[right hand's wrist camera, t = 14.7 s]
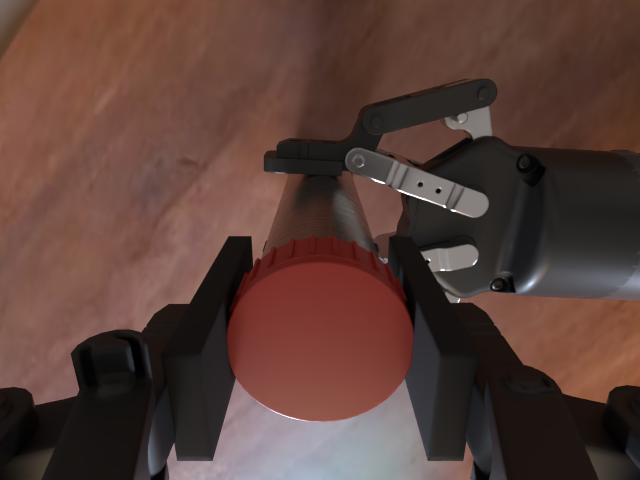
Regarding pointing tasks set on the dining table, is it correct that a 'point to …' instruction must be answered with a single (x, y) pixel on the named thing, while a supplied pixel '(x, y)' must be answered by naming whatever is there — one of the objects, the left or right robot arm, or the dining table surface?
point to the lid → (320, 330)
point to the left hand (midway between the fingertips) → (266, 208)
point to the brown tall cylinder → (320, 211)
